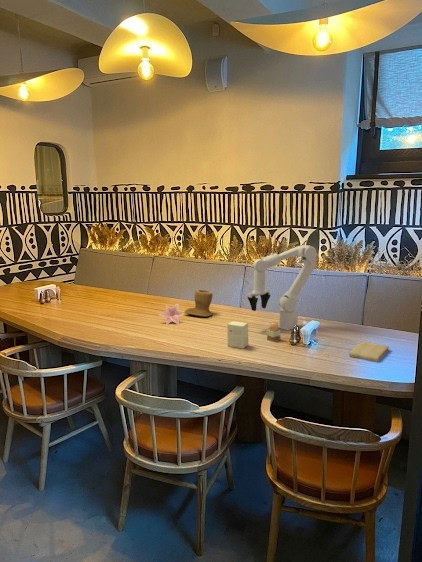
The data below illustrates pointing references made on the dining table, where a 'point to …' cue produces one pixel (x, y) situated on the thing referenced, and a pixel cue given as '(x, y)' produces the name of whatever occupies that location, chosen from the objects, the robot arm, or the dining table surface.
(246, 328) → the small box
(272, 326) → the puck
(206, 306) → the brown boot
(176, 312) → the lily
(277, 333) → the tower top
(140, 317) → the dining table surface
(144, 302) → the dining table surface
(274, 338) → the tower base
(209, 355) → the dining table surface
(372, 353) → the washcloth
